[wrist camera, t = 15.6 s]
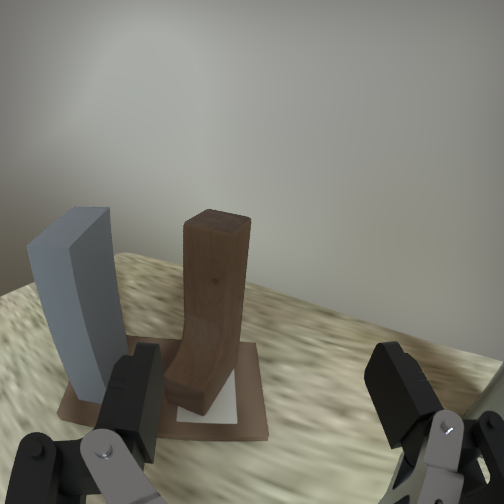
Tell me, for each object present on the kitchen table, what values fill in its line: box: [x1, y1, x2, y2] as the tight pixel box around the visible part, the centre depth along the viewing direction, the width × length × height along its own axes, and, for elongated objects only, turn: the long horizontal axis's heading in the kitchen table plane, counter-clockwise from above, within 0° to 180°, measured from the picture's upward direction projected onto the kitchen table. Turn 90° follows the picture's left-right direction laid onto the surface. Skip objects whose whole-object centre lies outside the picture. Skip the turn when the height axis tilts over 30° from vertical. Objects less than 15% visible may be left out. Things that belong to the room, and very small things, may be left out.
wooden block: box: [164, 209, 251, 416], centre depth 27 cm, size 9×4×18 cm, turn 160°
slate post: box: [27, 207, 129, 404], centre depth 26 cm, size 4×9×18 cm, turn 5°
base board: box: [57, 335, 269, 441], centre depth 31 cm, size 22×14×1 cm, turn 95°
